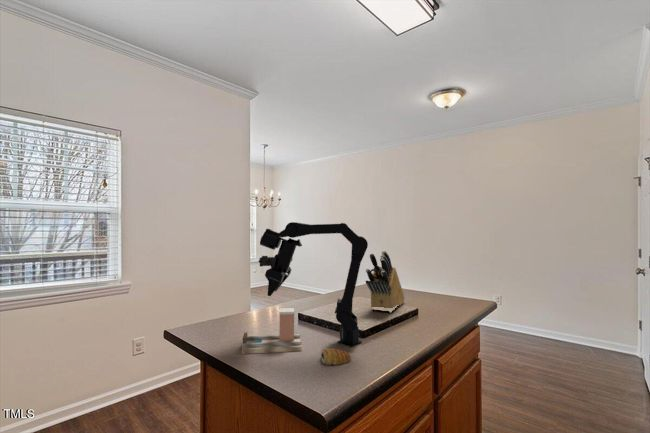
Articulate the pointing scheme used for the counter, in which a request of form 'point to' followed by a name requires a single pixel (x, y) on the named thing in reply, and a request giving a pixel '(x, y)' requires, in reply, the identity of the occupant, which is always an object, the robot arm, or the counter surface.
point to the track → (269, 344)
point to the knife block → (384, 283)
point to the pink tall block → (286, 324)
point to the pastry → (334, 356)
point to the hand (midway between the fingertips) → (271, 293)
